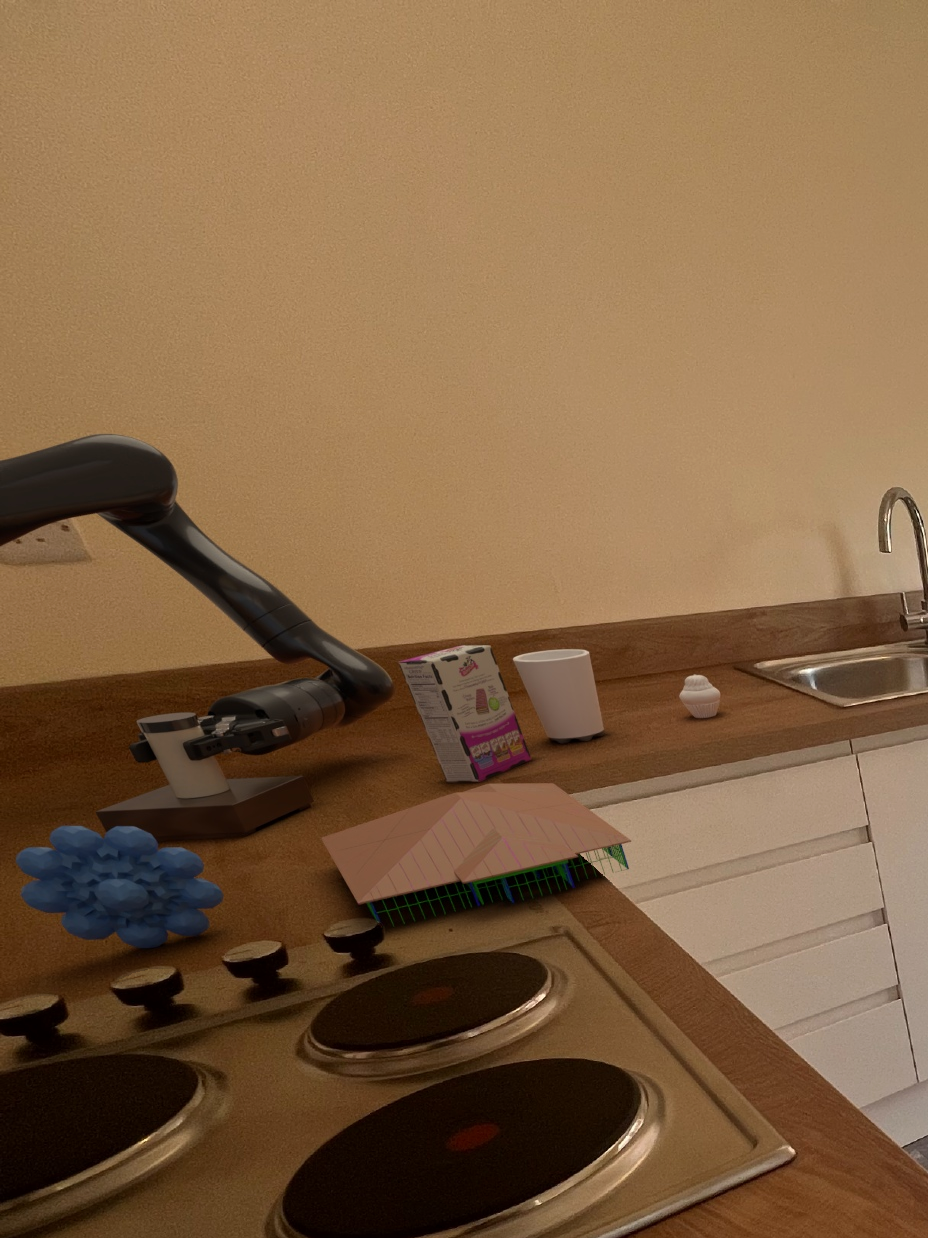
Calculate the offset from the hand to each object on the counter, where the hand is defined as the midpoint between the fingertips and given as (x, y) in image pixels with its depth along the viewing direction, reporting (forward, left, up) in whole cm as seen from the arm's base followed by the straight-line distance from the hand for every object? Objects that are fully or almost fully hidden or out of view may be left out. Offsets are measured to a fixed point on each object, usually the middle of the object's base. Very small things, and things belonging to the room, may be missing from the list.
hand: (163, 753), depth 119 cm
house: (+40, -18, -10) cm, 45 cm away
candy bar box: (+21, +22, -10) cm, 32 cm away
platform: (0, +3, -9) cm, 10 cm away
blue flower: (+21, -36, -10) cm, 43 cm away
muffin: (+40, +52, -10) cm, 66 cm away
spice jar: (0, +3, -5) cm, 6 cm away
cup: (+25, +40, -10) cm, 48 cm away
